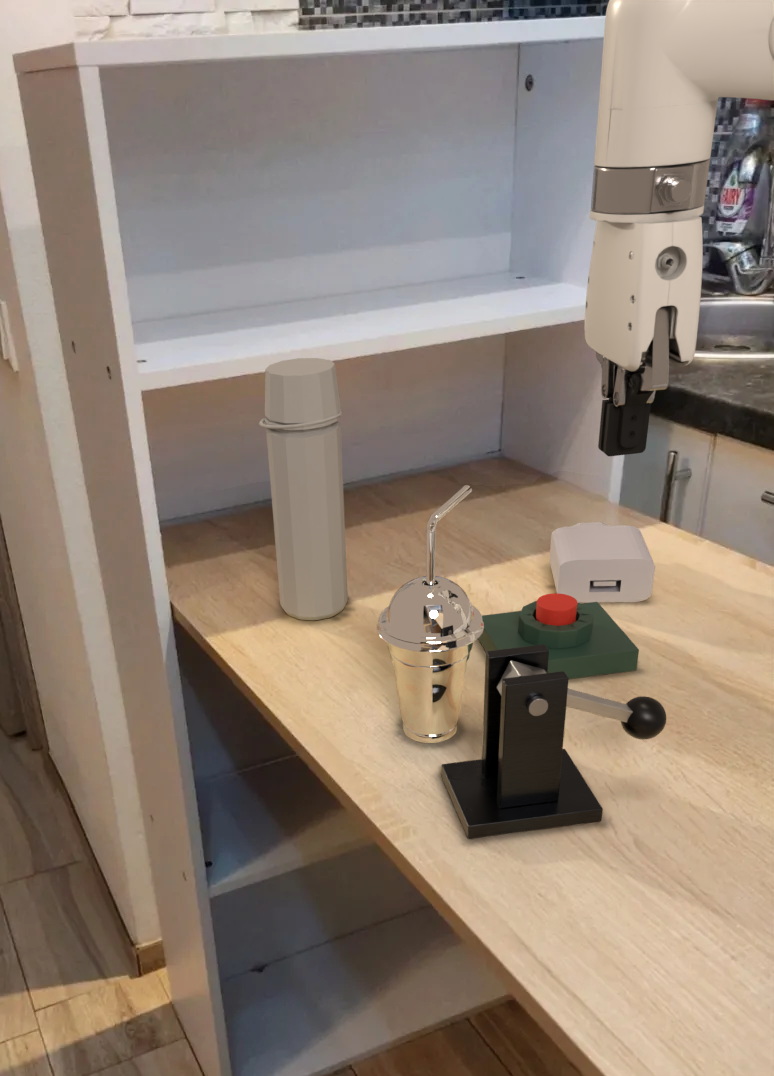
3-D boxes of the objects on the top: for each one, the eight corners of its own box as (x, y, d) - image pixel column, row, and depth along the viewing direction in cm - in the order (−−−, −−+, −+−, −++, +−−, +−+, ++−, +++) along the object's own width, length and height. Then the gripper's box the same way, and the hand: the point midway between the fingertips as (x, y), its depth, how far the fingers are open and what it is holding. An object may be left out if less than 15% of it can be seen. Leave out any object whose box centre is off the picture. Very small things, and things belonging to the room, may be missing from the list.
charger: (627, 543, 116) (650, 602, 104) (544, 544, 118) (556, 603, 105) (632, 503, 114) (656, 559, 101) (546, 505, 115) (560, 560, 103)
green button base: (595, 621, 101) (599, 584, 99) (636, 670, 93) (641, 631, 91) (476, 635, 101) (477, 599, 99) (506, 686, 92) (508, 647, 90)
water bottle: (364, 609, 107) (356, 365, 94) (301, 631, 104) (283, 382, 91) (317, 580, 114) (303, 349, 101) (256, 600, 111) (234, 364, 98)
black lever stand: (563, 760, 82) (575, 629, 76) (601, 821, 75) (617, 683, 69) (441, 776, 82) (442, 645, 75) (468, 839, 75) (471, 701, 69)
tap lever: (641, 728, 78) (663, 694, 77) (659, 752, 76) (682, 716, 74) (491, 688, 75) (510, 651, 73) (504, 711, 72) (524, 673, 71)
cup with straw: (362, 717, 90) (354, 499, 79) (453, 691, 92) (456, 476, 82) (409, 767, 83) (406, 536, 72) (505, 737, 85) (516, 510, 75)
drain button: (567, 608, 96) (569, 591, 96) (581, 625, 93) (583, 608, 92) (530, 612, 96) (531, 595, 95) (543, 629, 93) (544, 612, 92)
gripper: (754, 197, 65) (712, 477, 75) (655, 178, 78) (629, 419, 87) (639, 209, 64) (611, 489, 74) (558, 188, 77) (543, 429, 87)
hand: (621, 451), depth 81 cm, fingers closed
